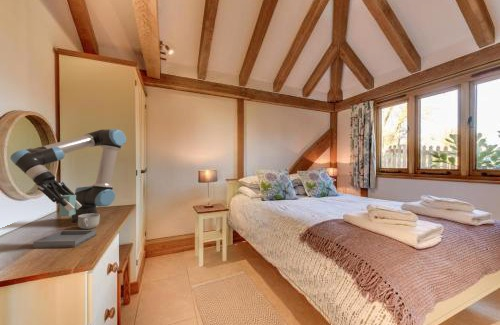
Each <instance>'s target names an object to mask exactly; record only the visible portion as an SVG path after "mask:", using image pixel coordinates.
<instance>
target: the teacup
mask: <svg viewBox="0 0 500 325" xmlns="http://www.w3.org/2000/svg"><path fill="white" fill-rule="evenodd" d="M100 220H101V214H100V213H98V214H94V213H92V214H82V215H79V216H78V222H77V227H79V229H80V230H93V229H94V228H96V227H97V226H98V225H99V223H100Z"/></svg>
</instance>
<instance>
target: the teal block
mask: <svg viewBox="0 0 500 325" xmlns="http://www.w3.org/2000/svg"><path fill="white" fill-rule="evenodd" d="M61 197H62V198H63V199H66V200H67V201H68V202H69V203H70V204H71V205H72V206H73V207H74V209H73V210H72V211H71V212H69V211H68V210H67V209H66V208H65V207H64V206H62V205H61V204H60V203H59V207H58V208H59V210H58V212H59V213H58V216H59V217H70V216H71V217H72V215H74V214H76V195H64V196H63V195H61Z"/></svg>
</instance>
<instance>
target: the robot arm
mask: <svg viewBox="0 0 500 325" xmlns="http://www.w3.org/2000/svg"><path fill="white" fill-rule="evenodd" d="M126 142H127V138H126V134H125V133H124V132H123V131H122V130H120V129H118V128H117V129H115V128H111V129H109V128H108V129H99V130H95V131H91V132H88V133H84V135H83V136H79V137H74V138H71V139H67V140H63V141H62V140H61V141H58V142H55V143H51V144H46V145H42V146H39V147H35V148H26V149H20V150H17V151H15V152H13V153H12V154H11V155H10V157H9V158H10V160H11V161H12V163H13V164H14V165H15V166H17V168H18V169H20V170H21V171H22V172H23V173H24V174H25V175H26V176H27V177H28V178H29V179H30V180H31V181H33V183H34V184H36V185H37V186H38V188H37V190H38V191H39V192H42V193H43V194H44V195H45V196H46V197H47V198H48V199H49V200H50V201H52V202H53V203H55V204H59V205H60V204H61V205H62V206H64V207H65V208H66V209H67V210H68V211H69V212H71V211H72V210H73V209H74V207H73V206H72V205H71V204H70V203H69V202H68V201H67V200H66V199H63V198H62V197H61V196H64V195H76V214H74V215H71V218H70V221H71V223H78V216H79V215H82V214H92V213H94V214H99V212H98V209H97V207H99V208H100V207H101V208H102V207H108V206H110V205H111V204H112V203H113V202H114V201H115V198H116V193H115V191H114V187H113V186H112V181H113V180H112V179H113V177H114V176H113V175H114V170H115V167H116V166H115V165H116V160H117V156H118V152H119V151H120V150H121V148H122V146H124V145H125V144H126ZM97 146H98V147H99V146H100V147H101V149H102V153H101V156H100V162H99V166H98V172H97V176H96V181H95V184H93V185H90V186H82V187H76V188H75V190H74V191H75V192H73V191H72V190H71V189H70V188H69V187H68V186H67V185H66V183H64V182H63V181H62V182H58V181H57V180H56V176H55V175H54V174H53V173H52V172H50V170H49V169H48V168H47V167H46V166H45V165H49V164H51V163H55V162H59V161H61V160H63V159H64V158H65V154H67V153H72V152H75V151H78V150H82V149H84V148H85V149H86V148H88V147H89V148H93V147H97Z"/></svg>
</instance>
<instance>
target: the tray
mask: <svg viewBox="0 0 500 325" xmlns="http://www.w3.org/2000/svg"><path fill="white" fill-rule="evenodd" d="M95 236H97V229H70V230H69V229H65V230H64V229H61V230H59V231H56V232H53V233H52V234H49V235H46V236H43V237H40V238H39V239H36V240H35V241H33V249H41V248H42V249H45V248H47V249H50V248H51V249H52V248H55V249H56V248H58V249H59V248H76V247H79V246H80V245H81V244H83V243H85V242H87V241H89V240H91V239H92V238H94V237H95Z"/></svg>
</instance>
